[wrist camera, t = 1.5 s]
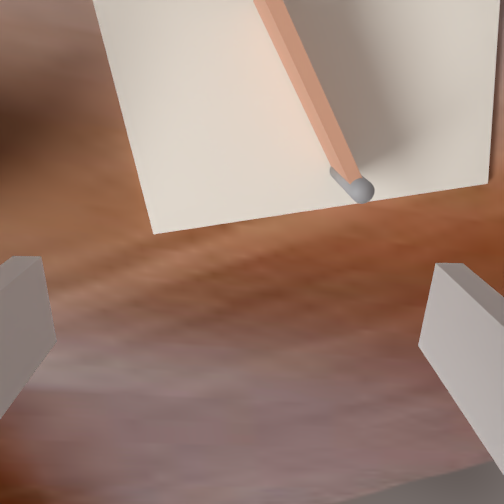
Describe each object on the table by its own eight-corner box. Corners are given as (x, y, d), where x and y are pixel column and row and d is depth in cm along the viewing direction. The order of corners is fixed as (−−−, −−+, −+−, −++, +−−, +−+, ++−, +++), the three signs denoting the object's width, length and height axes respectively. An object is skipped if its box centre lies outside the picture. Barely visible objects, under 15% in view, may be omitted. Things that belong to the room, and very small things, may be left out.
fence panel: (249, 4, 26) (250, -20, 20) (268, -8, 26) (275, -36, 20) (334, 182, 31) (356, 207, 25) (351, 173, 31) (378, 196, 25)
